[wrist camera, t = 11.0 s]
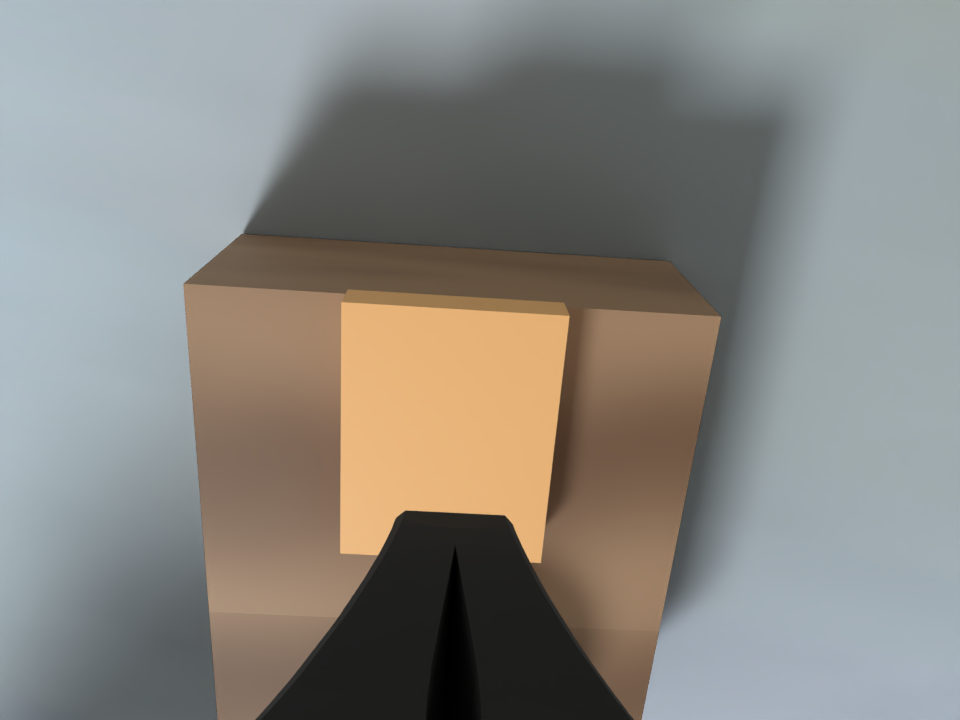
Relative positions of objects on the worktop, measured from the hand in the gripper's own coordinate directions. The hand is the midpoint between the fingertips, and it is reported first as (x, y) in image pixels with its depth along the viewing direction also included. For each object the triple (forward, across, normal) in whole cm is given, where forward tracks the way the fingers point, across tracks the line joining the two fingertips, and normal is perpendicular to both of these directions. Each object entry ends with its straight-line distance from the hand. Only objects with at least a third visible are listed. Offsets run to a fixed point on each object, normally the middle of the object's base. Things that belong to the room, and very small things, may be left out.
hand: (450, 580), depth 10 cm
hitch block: (+10, 0, +5) cm, 11 cm away
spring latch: (+6, 0, +1) cm, 6 cm away
